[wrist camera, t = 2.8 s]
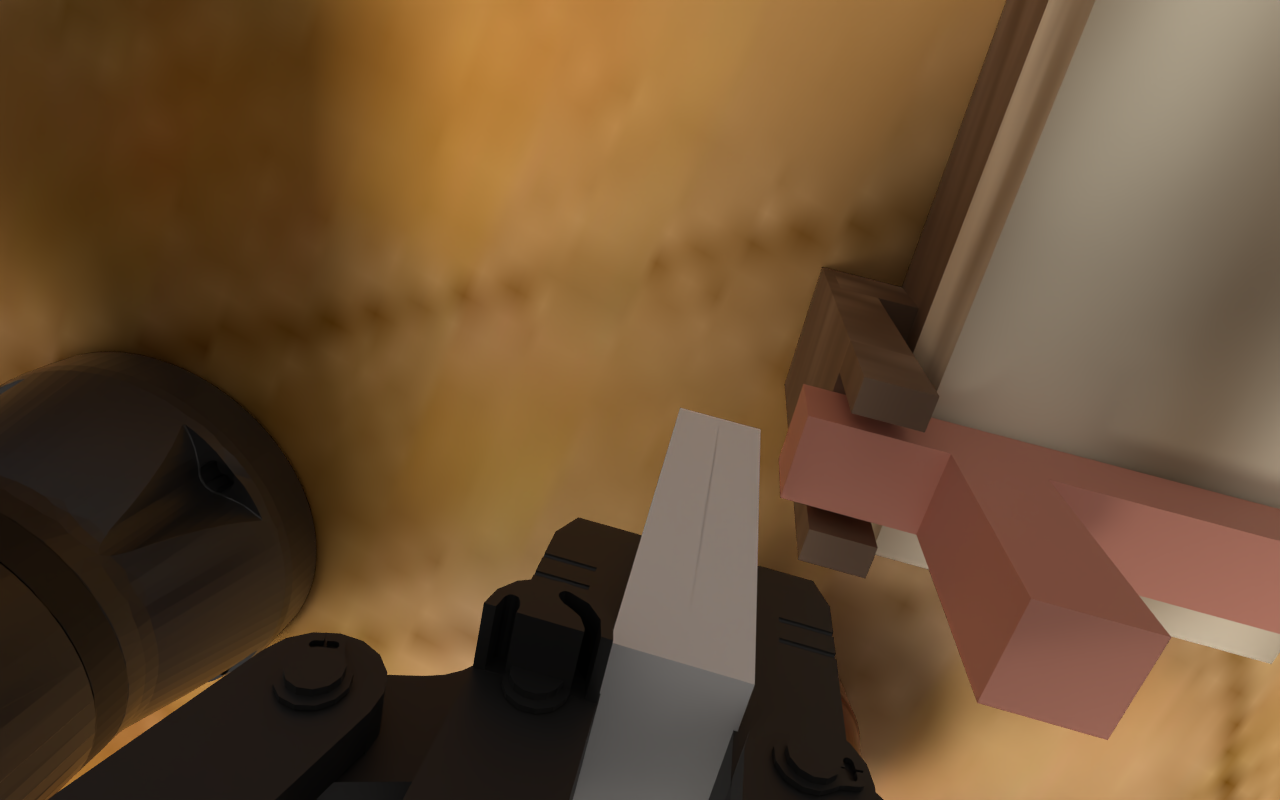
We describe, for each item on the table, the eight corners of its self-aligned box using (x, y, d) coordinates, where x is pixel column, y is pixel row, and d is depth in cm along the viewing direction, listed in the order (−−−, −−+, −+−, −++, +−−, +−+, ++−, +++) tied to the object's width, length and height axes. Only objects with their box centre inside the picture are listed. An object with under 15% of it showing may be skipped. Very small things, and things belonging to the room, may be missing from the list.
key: (778, 458, 18) (787, 649, 12) (803, 384, 17) (826, 542, 11) (1459, 642, 17) (1877, 960, 11) (1516, 571, 16) (2003, 866, 10)
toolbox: (782, 392, 27) (794, 571, 17) (920, -40, 22) (1068, -187, 11) (1184, 498, 26) (1471, 759, 16) (1428, 75, 21) (2112, 33, 10)
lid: (857, 498, 22) (871, 553, 19) (1085, -96, 16) (1151, -140, 13) (1205, 592, 21) (1271, 663, 18) (1568, 10, 16) (1742, -13, 13)
